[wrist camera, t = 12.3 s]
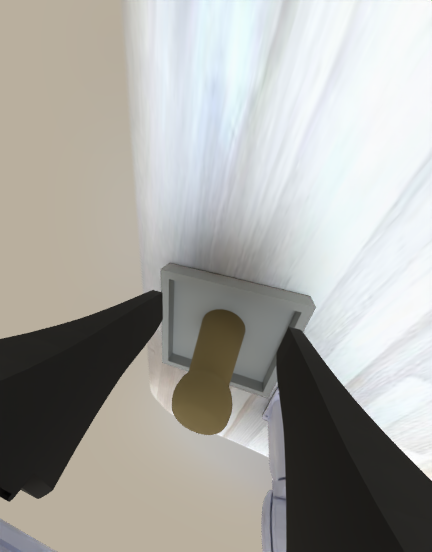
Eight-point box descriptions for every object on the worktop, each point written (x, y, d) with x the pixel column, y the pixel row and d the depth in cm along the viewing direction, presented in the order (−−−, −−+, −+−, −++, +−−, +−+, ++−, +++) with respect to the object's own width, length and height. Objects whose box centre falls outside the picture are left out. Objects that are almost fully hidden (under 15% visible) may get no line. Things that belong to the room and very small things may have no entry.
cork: (250, 342, 22) (242, 452, 13) (209, 344, 25) (177, 440, 15) (239, 306, 20) (220, 404, 11) (196, 311, 22) (147, 398, 13)
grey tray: (267, 384, 26) (267, 398, 24) (168, 352, 29) (162, 362, 27) (310, 296, 18) (316, 307, 16) (169, 263, 21) (160, 269, 19)
